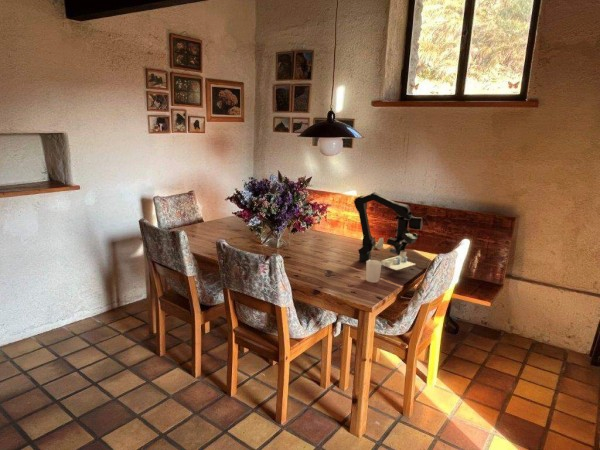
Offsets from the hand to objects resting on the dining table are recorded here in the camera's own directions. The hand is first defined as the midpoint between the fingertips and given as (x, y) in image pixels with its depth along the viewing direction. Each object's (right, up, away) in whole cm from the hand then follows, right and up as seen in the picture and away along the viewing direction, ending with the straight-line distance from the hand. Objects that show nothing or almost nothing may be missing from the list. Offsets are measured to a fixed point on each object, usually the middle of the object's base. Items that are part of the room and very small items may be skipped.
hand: (400, 254), depth 239 cm
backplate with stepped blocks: (+1, -7, +7) cm, 10 cm away
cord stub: (-1, 0, +2) cm, 2 cm away
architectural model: (-4, +1, +40) cm, 41 cm away
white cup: (-18, -13, -17) cm, 28 cm away
